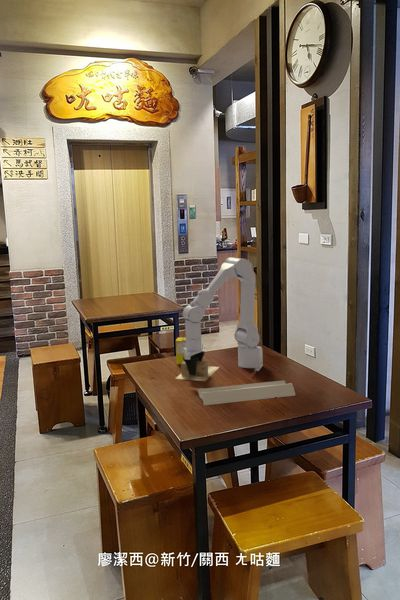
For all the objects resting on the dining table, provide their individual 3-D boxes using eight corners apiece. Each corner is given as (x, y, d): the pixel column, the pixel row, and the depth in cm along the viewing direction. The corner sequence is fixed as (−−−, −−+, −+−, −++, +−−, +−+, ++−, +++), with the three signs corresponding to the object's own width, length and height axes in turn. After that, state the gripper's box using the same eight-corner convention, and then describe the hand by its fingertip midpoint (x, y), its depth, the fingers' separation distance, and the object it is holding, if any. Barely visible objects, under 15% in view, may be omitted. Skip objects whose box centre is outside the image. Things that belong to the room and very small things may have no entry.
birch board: (219, 369, 194) (219, 367, 194) (205, 383, 179) (205, 381, 179) (191, 367, 199) (191, 364, 198) (174, 381, 183) (174, 378, 183)
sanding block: (208, 374, 186) (207, 361, 185) (204, 378, 182) (203, 365, 181) (185, 372, 189) (185, 359, 188) (181, 376, 185) (180, 363, 184)
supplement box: (192, 362, 205) (191, 336, 203) (191, 366, 199) (190, 340, 198) (178, 362, 206) (177, 336, 204) (176, 366, 200) (175, 340, 198)
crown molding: (283, 385, 176) (283, 376, 175) (296, 398, 165) (296, 387, 164) (197, 394, 170) (197, 384, 170) (204, 407, 159) (204, 397, 158)
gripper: (190, 332, 191) (191, 366, 193) (175, 341, 178) (177, 378, 180) (207, 333, 189) (208, 367, 191) (194, 343, 175) (195, 379, 178)
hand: (194, 372), depth 185 cm, fingers closed on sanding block, 4 cm apart
